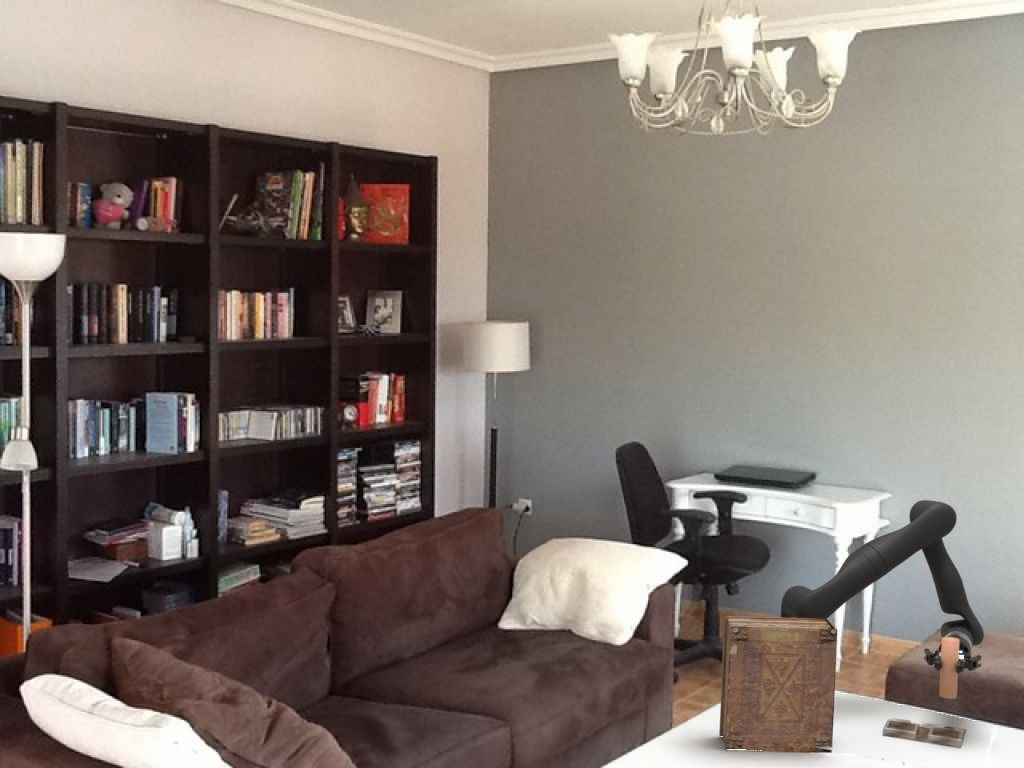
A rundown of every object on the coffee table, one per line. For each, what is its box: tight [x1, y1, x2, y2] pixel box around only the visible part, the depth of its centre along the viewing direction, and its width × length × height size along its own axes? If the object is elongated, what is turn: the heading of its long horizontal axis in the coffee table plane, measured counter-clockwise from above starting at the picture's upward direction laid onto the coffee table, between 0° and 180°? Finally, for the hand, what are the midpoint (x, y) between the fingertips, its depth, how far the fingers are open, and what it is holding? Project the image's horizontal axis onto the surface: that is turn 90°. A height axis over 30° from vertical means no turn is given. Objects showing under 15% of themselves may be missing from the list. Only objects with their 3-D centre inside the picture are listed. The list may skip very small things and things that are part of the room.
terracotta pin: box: [938, 637, 960, 700], centre depth 305 cm, size 4×4×14 cm
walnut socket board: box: [882, 717, 967, 749], centre depth 311 cm, size 18×14×3 cm
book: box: [718, 615, 838, 754], centre depth 304 cm, size 25×9×30 cm, turn 89°
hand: (948, 667), depth 303 cm, fingers closed on terracotta pin, 4 cm apart
